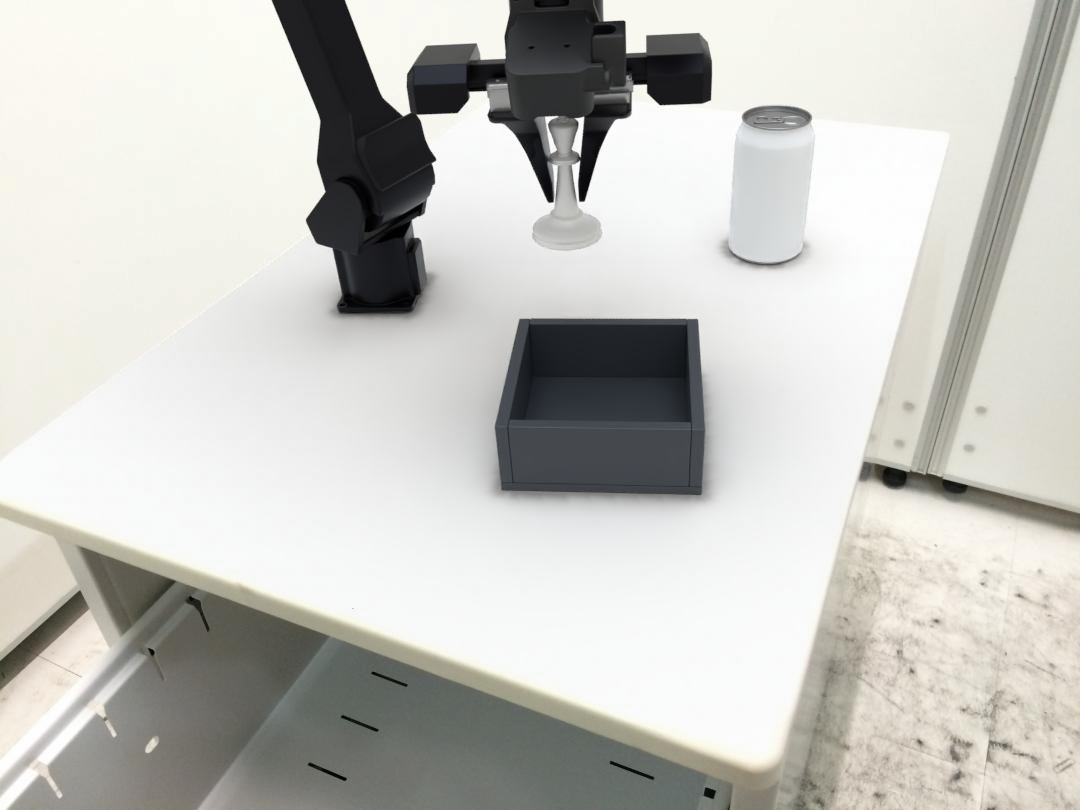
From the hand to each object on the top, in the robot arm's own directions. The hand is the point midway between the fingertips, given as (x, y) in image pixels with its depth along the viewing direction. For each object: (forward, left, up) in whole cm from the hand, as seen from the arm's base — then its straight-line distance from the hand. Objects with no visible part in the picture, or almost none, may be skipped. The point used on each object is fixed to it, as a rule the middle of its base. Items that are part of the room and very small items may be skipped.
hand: (566, 200), depth 64 cm
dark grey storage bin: (+3, -9, -13) cm, 16 cm away
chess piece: (0, 0, -3) cm, 3 cm away
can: (+16, +17, -13) cm, 27 cm away
